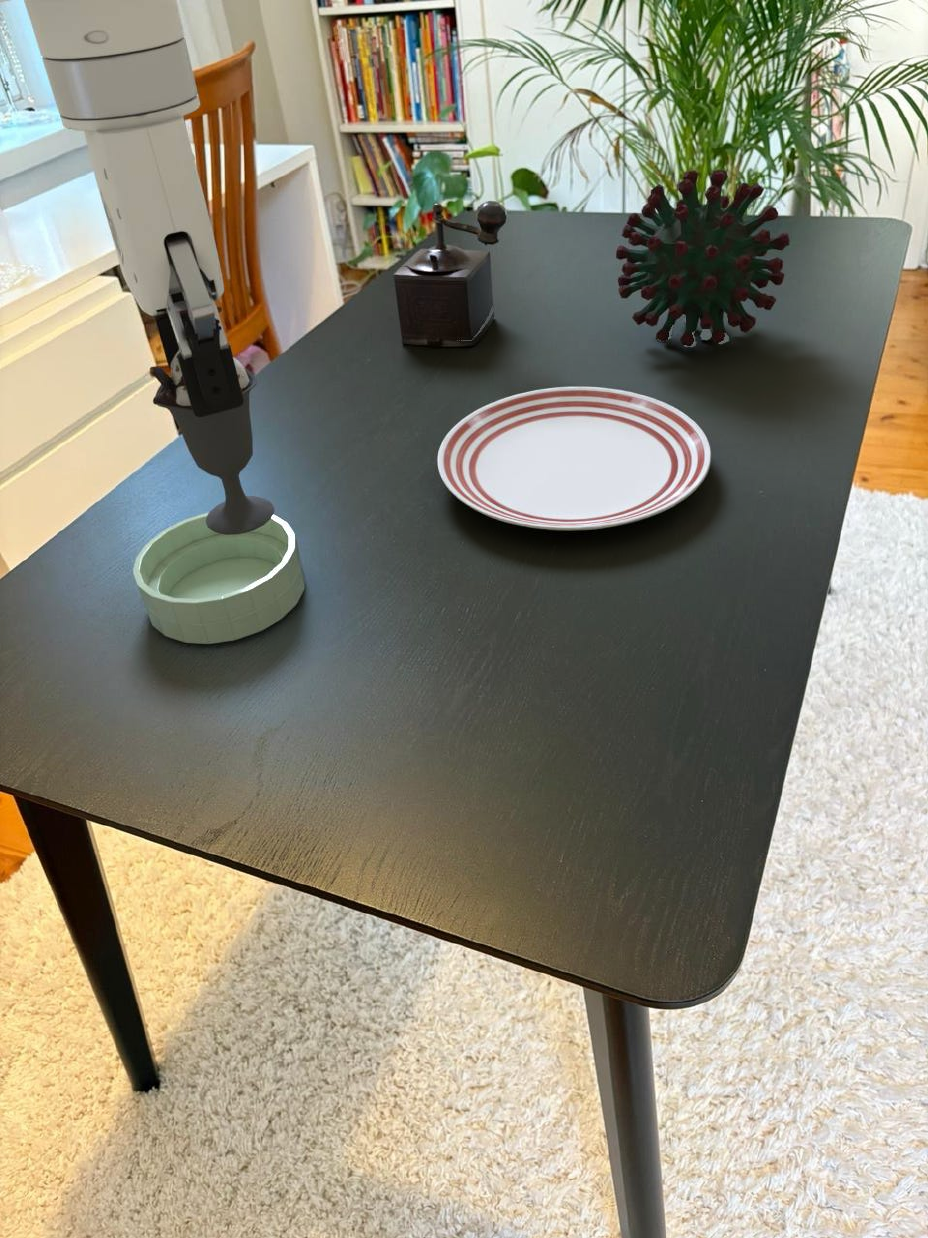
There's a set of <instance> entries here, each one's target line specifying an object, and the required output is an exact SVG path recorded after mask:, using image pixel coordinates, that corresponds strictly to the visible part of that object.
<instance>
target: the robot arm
mask: <svg viewBox="0 0 928 1238" xmlns="http://www.w3.org/2000/svg"><path fill="white" fill-rule="evenodd" d="M9 1H11V0H0V3H3V2H9ZM23 3H24V5H25V8H26V11H27V15H28V19H29V22H30V25H31V27H32V31H33V35H34V36H35V40H36V44H37V47H38V50H39V53H40V56H41V57H42V63H43V67H44V69H45V73H46V75H47V79H48V82H49V86H50V88H51V92H52V95H53V98H54V101H55V104H56V108H57V112H58V113H59V117H60V121H61V123H62V126H63V128H65V129H67V130H73V131H79V132H84V137H85V142H86V146H87V151H88V155H89V159H90V163H91V167H92V171H93V174H94V178H95V181H96V185H97V188H98V192H99V195H100V200H101V203H102V206H103V209H104V212H105V217H106V220H107V223H108V226H109V230H110V234H111V237H112V241H113V244H114V249H115V252H116V255H117V259H118V260H117V261H118V263H119V268H120V271H121V274H122V276H123V279H124V281H125V284H126V285H127V287H128V289H129V290H130V293H131V294H132V296H133V297H134V300H135V302H136V303H137V305H138V306H139V308H140V310H141V311H143V312H144V313H145V314H147V315H149V316H151V317H153V318H154V322H155V325H156V328H157V332H158V335H159V339H160V342H161V345H162V349H163V353H164V356H165V359H166V363H167V366H168V369H169V371H170V372H171V362H172V361H173V359H174V357H175V355H176V353H177V352H178V349H180V351H181V355H177V358H178V362H179V366H180V369H181V373H182V376H183V380H184V383H185V387H186V390H187V394H188V397H189V401H190V404H191V408H192V411H193V413H194V415H195V416H197V417H204V416H208V415H211V414H215V413H219V412H222V411H226V410H230V409H234V408H237V407H240V406H242V405H243V402H244V400H243V396H242V391H241V387H240V383H239V379H238V375H237V371H236V367H235V363H234V359H233V357H234V355H233V350H232V347H231V344H230V343H229V342H228V341H229V340H228V338H227V335H226V332H225V328H224V325H223V322H222V320H221V316H220V312H218V309H217V307H218V306H217V303H216V301H219V300H220V299H221V297H222V296H223V294H224V293H225V285H224V279H223V273H222V268H221V263H220V259H219V253H218V249H217V245H216V240H215V236H214V231H213V228H212V223H211V219H210V215H209V211H208V206H207V202H206V199H205V194H204V190H203V186H202V183H201V180H200V174H199V172H198V167H197V164H196V157H195V154H194V152H193V148H192V145H191V141H190V138H189V137H190V136H189V133H188V129H187V125H186V121H185V119H184V116H186V115H189V114H192V113H193V112H195V111H196V110H198V109H200V107H201V102H200V96H199V94H198V90H197V89H198V88H197V85H196V79H195V76H194V72H193V71H194V70H193V66H192V62H191V58H190V53H189V48H188V45H187V41H186V37H185V31H184V27H183V22H182V19H181V14H180V9H179V5H178V0H23Z"/></svg>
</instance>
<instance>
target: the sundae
mask: <svg viewBox="0 0 928 1238" xmlns="http://www.w3.org/2000/svg"><path fill="white" fill-rule="evenodd" d="M217 309H218V312H219V313H221V312H222V310H223V307H222V306H217ZM177 355H181V351H180V349H178V352H177V353H176V355H175V357H174V359H173V361H172V362H171V371H170V374H168V373H167V372H166V371H165V370H164V369H163V368H161V366H150V368H149V371H150V373H151V374H152V375H153V377H154V378H156V380H157V381H158V383H160V385H159V387H158V388H157V390H156V393H155V396H154V397H153V400H152V403H153V404H154V405H156V406H158V407H160V408H164V409H167V410H168V411H169V412H170V414H171V416H172V418H173V419H174V421H175V423H176V425H177V427H178V429H179V431H180V433H181V435H182V436H181V437H182V438H183V440H184V442H185V445H186V447H187V449H188V452H189V454H190V455H191V458H192V459H193V461H194V462H195V464H196V466H197V468H199V469H200V470H202V471H203V472H205V473H206V474H208V475H210V476H214V477H218V478H219V479H220V480H221V483H222V486H223V490H224V494H225V500H224V501H223V502H221V503H219V504H217V505H216V506H215V507H213V508H212V509H211V510H210V511H209V514H208V515H207V518H206V524H207V527H208V528H209V529H211V530H212V531H214V532H216V533H220V534H225V535H235V534H242V533H247V532H250V531H253V530H255V529H257V528H259V527H261V526H263V525H264V524H266V523H267V522H268V521H269V520H270V519H271V518H272V516H273V514H274V513H275V505H273V503H272V501H270V500H268V499H266V498H265V497H260V496H254V495H246V494H245V492H244V489H243V487H242V483H241V480H240V474H241V472H242V471H243V470H244V469H245V468H246V467H247V465H248V464H249V462H250V460H251V459H252V457H253V455H254V447H253V445H254V441H253V429H252V421H251V412H250V393H251V391H252V389H253V388H255V387H256V386H257V385H258V380H257V377H256V375H254V373H253V372H251V371H250V370H249V369H247V368H246V367H244V366H243V364H242V363H241V362H240V360H239V359H238V358H235V357H234V356H233V359H234V363H235V367H236V371H237V375H238V379H239V383H240V387H241V391H242V396H243V400H244V402H243V405H242V406H240V407H237V408H234V409H230V410H226V411H222V412H219V413H215V414H211V415H208V416H204V417H197V416H195V415H194V413H193V411H192V408H191V404H190V401H189V397H188V394H187V390H186V387H185V383H184V380H183V376H182V373H181V369H180V366H179V362H178V358H177ZM274 515H275V514H274Z"/></svg>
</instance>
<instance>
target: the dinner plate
mask: <svg viewBox="0 0 928 1238" xmlns="http://www.w3.org/2000/svg"><path fill="white" fill-rule="evenodd" d="M711 462H712V450H711V445H710V442H709V440H708V438H707V436H706V434H705V432H704V431H703V430H702V428H701V427H700V426H699V425H698V424H697V422H695V421H694V420H693V419H692V417H691V418H690V416H688V415H687V414H685V413H684V412H683V411H681V410H679V409H678V408H676V407H674V406H672V405H671V404H668V403H666V402H665V401H662V400H658V399H657V398H653V397H651V396H647V395H643V394H639V393H636V392H632V391H628V390H622V389H616V388H607V387H601V386H600V387H599V386H559V387H558V386H557V387H549V388H542V389H541V388H540V389H535V390H531V391H526V392H522V393H517V394H514V395H511V396H507V397H504V398H501V399H497V400H496V401H494V402H491V403H488V404H487V405H484V406H482V407H480V408H478V409H476V410H474V411H473V412H471V413H469V414H468V415H467V416H465V417H464V418H462V419H461V420H460V421H458V422H457V423H456V424H455V425H454V426H453V427H452V428H451V429H450V430H449V431H448V432H447V434H446V435H445V437H444V438H443V440H442V442H441V444H440V446H439V449H438V452H437V469H438V472H439V476H440V477H441V480H442V482H443V484H444V485H445V487H446V488H447V489H448V491H449V492H450V493H452V495H454V496H455V497H456V499H458V500H459V501H460V502H462V503H464V504H465V505H467V506H468V507H469V508H471V509H473V510H474V511H476V512H479V513H481V514H482V515H483V516H484V515H485V516H487V517H489V518H491V519H495V520H497V521H500V522H504V523H507V524H510V525H511V524H512V525H516V526H520V527H526V528H532V529H540V530H548V531H589V530H599V529H606V528H613V527H618V526H624V525H627V524H633V523H635V522H639V521H643V520H645V519H648V518H652V517H653V516H656V515H658V514H661V513H663V512H665V511H667V510H669V509H671V508H674V507H675V506H676V505H678V504H680V503H681V502H682V501H683V502H684V500H686V499H687V498H688V497H689V496H691V495H693V493H695V491H696V490H697V489H698V488H699V487H700V486H701V484H702V483H703V482H704V481H705V478H706V477H707V475H708V473H709V471H710V469H711V468H710V467H711Z"/></svg>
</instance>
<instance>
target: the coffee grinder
mask: <svg viewBox="0 0 928 1238" xmlns="http://www.w3.org/2000/svg"><path fill="white" fill-rule="evenodd" d="M432 211H433V213H434V214H433V216H432V222H433V223H435V231H436V244H435V245H434V246H431V247H430V248H420V249H418V250H417V251H416V252H415V253H414V254H413V255H412V256H411V257H410V258H408V259H407V260H406V261H405V263H403V264H402V265H401V266H400V267H399V268H398V269H397V270H396V271H395V272H394V273H393V282H394V288H395V289H394V290H395V296H396V297H395V298H396V305H397V313H398V320H399V327H400V334H401V344H402V345H408V346H409V345H410V346H424V347H433V348H434V347H435V348H442V347H449V348H450V347H451V348H455V347H457V348H460V347H462V348H463V347H473V346H475V345H476V344H477V343H479V342H480V341H481V340H482V339H483V337H484V336H485V334H486V333H487V332H488V330H489V329H490V328H491V326H492V324H493V321H494V319H495V311H494V312H493V314H492V316H491V318H490V320H489V321H488V323H487V324H486V325H485V327H484V328H483V329H482V331H481V332H480V333H479V334H478V335H477V336H476V337H475V338H474V336H475V335H476V334H477V333H478V331H479V330H480V328H481V326H482V325H483V324H484V323H485V321H486V319H487V317H488V316H489V313H490V311H491V308H492V306H493V307H494V298H493V279H492V261H491V259H492V258H491V251H490V250H477V249H476V250H475V249H462V248H461V247H458V246H455V245H451V244H446V241H445V237H444V235H445V234H444V226H445V227H447V228H449V229H452V230H457V231H460V232H465V233H466V232H467V233H469V234H473V235H476V239H477V241H478V242H480V243H482V244H484V245H485V247H486V246H488V245H491V246H493V245H496V244H498V243H499V242H500V237H499V231H500V229H501V228H502V227H504V226H505V224H506V222H507V216H508V212H507V210H506V207H505V206H504V205H502V204H500V203H499V202H497V201H494V200H487V201H484V202H483V203H481V204H479V206H478V207H477V208H476V210H475V219H476V220H477V223H478V224H479V227H477V226H474V225H470V224H468V223H467V224H466V223H462V222H459V221H453V220H450V219H448V218H445V215H444V214H443V212H444V207H443V205H442V204H440V203H439V202H438V203H435V204H434V205H433V206H432ZM473 338H474V339H473ZM472 339H473V340H472ZM457 340H458V341H457ZM459 340H460V341H459ZM461 340H472V341H461Z"/></svg>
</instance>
